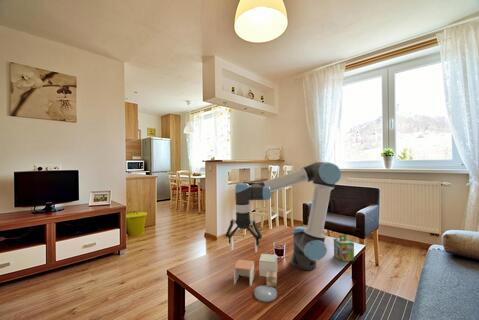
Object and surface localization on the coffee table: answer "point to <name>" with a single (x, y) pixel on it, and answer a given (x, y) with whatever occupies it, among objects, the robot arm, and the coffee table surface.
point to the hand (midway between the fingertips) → (243, 250)
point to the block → (271, 278)
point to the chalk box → (343, 249)
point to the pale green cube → (267, 264)
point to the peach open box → (244, 270)
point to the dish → (265, 293)
